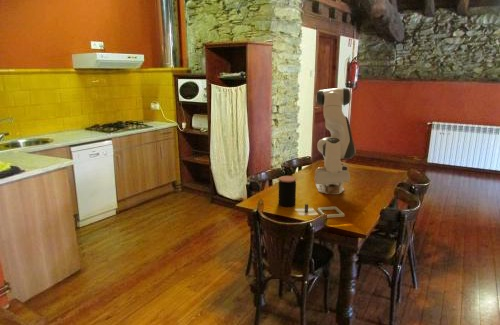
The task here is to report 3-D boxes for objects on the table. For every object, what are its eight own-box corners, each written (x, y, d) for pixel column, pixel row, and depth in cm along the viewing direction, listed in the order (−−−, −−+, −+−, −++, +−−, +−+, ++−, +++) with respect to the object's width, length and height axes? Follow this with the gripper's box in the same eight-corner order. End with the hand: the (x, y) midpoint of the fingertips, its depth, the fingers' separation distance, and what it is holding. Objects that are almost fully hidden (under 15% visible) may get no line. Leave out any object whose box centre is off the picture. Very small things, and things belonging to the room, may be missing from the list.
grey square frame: (316, 211, 211) (317, 207, 211) (335, 210, 213) (335, 206, 213) (324, 219, 200) (324, 215, 199) (344, 218, 202) (344, 214, 201)
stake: (294, 210, 213) (294, 201, 212) (312, 209, 215) (312, 200, 214) (300, 217, 203) (300, 208, 202) (318, 216, 205) (318, 207, 203)
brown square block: (328, 194, 199) (328, 187, 198) (324, 190, 205) (324, 184, 204) (339, 193, 200) (339, 186, 199) (334, 189, 206) (334, 183, 205)
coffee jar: (298, 207, 218) (299, 179, 213) (282, 209, 215) (283, 181, 210) (290, 201, 228) (291, 175, 223) (275, 203, 224) (276, 176, 220)
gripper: (317, 169, 194) (316, 193, 198) (351, 167, 198) (350, 190, 201) (313, 166, 200) (312, 189, 204) (346, 164, 204) (345, 187, 207)
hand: (331, 190), depth 202 cm, fingers closed on brown square block, 6 cm apart
